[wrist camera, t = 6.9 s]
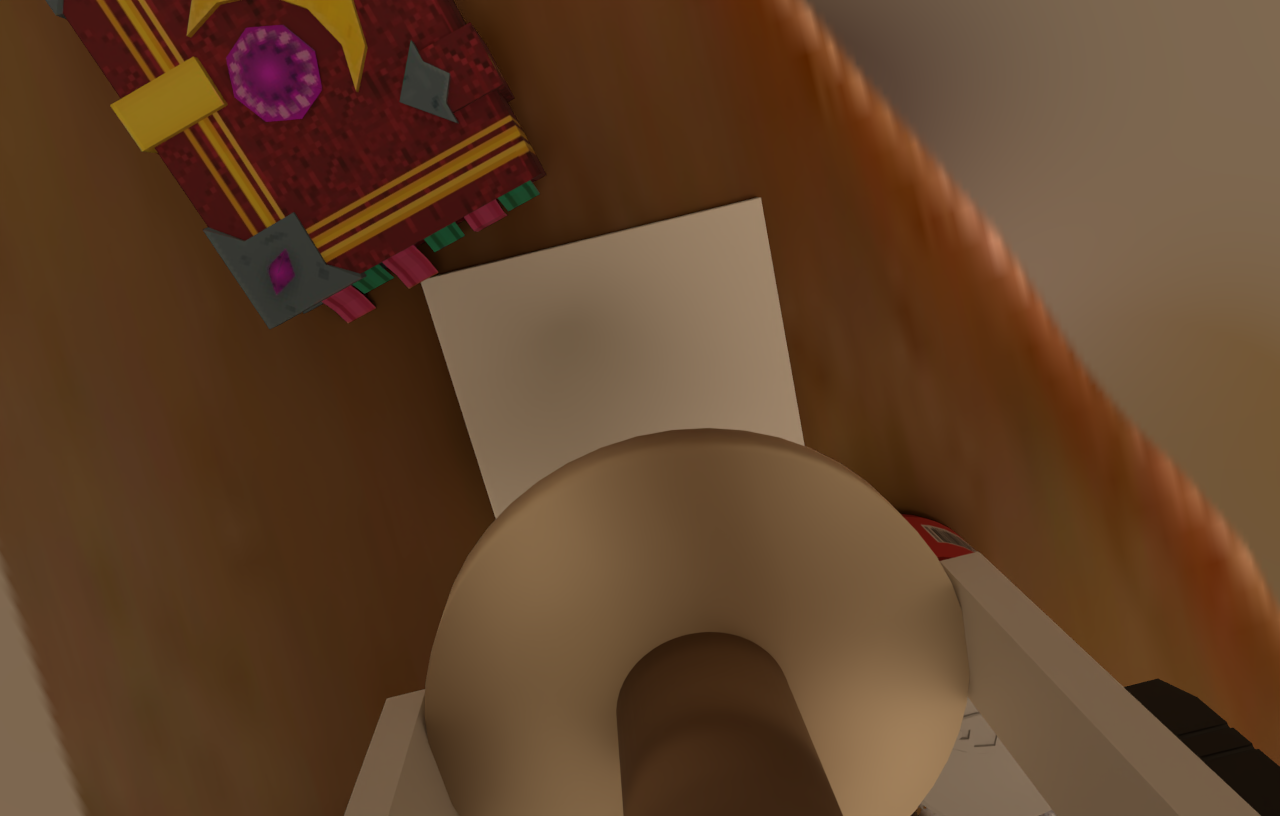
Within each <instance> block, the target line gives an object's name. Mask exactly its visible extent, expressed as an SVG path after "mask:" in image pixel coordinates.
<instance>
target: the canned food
mask: <svg viewBox="0 0 1280 816" xmlns="http://www.w3.org/2000/svg"><path fill="white" fill-rule="evenodd" d="M901 515H902V516H903V517H904V518H905V519H906V520H907V521H908V522H909V523H910V525H911V526H912V527H913V528H914V529H915V530H916V531H917V532H918V533H919V535H920V536H921V537H922V538H923V540H924V541H925V542H926V543H927V545H928V546H929V547H930V549H931V550H932V551H933V552H934V554H935V555H936V556H937V558H938V560H939V561H942V560H946V559H950V558H954V557H958V556H963V555H967V554H971V553H975V552H976V551H975V550H974V549H973V548H972V547H971V546H970V545H969V544H968V543H967V542H966V541H965V540H964V539H962V538H961V537H960V536H959V535H958V534H956V533H955V532H954V531H953V530H951V529H950V528H948V527H946V526H944V525H942V524H940V523H938V522H936V521H933V520H929V519H926V518H922V517H919V516H915V515H906V514H901ZM921 803H922V805H924V806H925V807H927V808H928V809H930V810H931V811H933V812H934V813H936V814H937V815H940V816H1039V815H1041V814H1044V813H1046V812H1048V811H1050V810H1052V809H1051V807H1050V806H1049V805H1048V803H1047V802H1046V801H1045V799H1044V798H1043V797H1042V795H1041V794H1040V793H1039V791H1038V790H1037V789H1036V787H1035V786H1034V785H1033V783H1032V782H1031V781H1030V779H1029V778H1028V777H1027V775H1026V774H1025V773H1024V771H1023V770H1022V769H1021V767H1020V766H1019V765H1018V763H1017V762H1016V761H1015V759H1014V758H1013V757H1012V755H1011V754H1010V753H1009V751H1008V750H1007V749H1006V747H1005V746H1004V745H1003V743H1002V742H1001V741H1000V739H999V738H998V737H997V735H996V734H995V733H994V731H993V730H992V729H991V727H990V726H989V725H988V723H987V722H986V721H985V719H984V718H983V717H982V715H981V714H980V713H979V711H978V710H977V709H976V707H975V706H974V705H973V703H972V702H971V701H970V699H969V698H968V697H967V704H966V708H965V712H964V716H963V720H962V724H961V728H960V731H959V734H958V736H957V739H956V741H955V744H954V746H953V749H952V751H951V754H950V756H949V759H948V761H947V763H946V764H945V766H944V768H943V770H942V771H941V773H940V775H939V777H938V779H937V780H936V782H935V784H934V786H933V787H932V789H931V790H930V791H929V793H928V794H927V795H926V797H925V798H924V799H923V801H922V802H921Z"/></svg>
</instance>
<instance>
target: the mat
mask: <svg viewBox="0 0 1280 816" xmlns="http://www.w3.org/2000/svg"><path fill="white" fill-rule="evenodd" d="M421 285H422V288H423V291H424V294H425V297H426V300H427V303H428V307H429V310H430V313H431V316H432V319H433V322H434V326H435V329H436V332H437V335H438V338H439V341H440V345H441V348H442V351H443V354H444V357H445V360H446V363H447V367H448V370H449V373H450V376H451V379H452V382H453V386H454V389H455V392H456V395H457V398H458V401H459V405H460V408H461V411H462V414H463V417H464V420H465V423H466V427H467V430H468V433H469V436H470V439H471V442H472V446H473V449H474V452H475V455H476V458H477V461H478V465H479V468H480V471H481V474H482V477H483V480H484V483H485V487H486V490H487V493H488V496H489V499H490V502H491V506H492V509H493V512H494V515H495V518H496V519H497V518H498V517H499V515H500V514H501V513H502V512H503V511H504V510H505V509H506V508H507V507H508V506H509V505H510V504H511V503H512V502H513V501H514V500H516V499H517V498H518V497H519V496H521V495H522V494H523V493H524V492H526V491H527V490H528V489H529V488H530V487H532V486H533V485H534V484H535V483H537V482H538V481H539V480H541V479H543V478H544V477H546V476H548V475H549V474H551V473H552V472H554V471H556V470H557V469H559V468H560V467H562V466H564V465H565V464H567V463H569V462H571V461H573V460H575V459H577V458H580V457H582V456H584V455H586V454H588V453H590V452H593V451H595V450H597V449H599V448H601V447H605V446H608V445H611V444H614V443H617V442H621V441H624V440H627V439H630V438H633V437H636V436H642V435H647V434H653V433H658V432H664V431H669V430H680V429H698V428H717V429H731V430H745V431H750V432H755V433H760V434H765V435H770V436H775V437H779V438H782V439H785V440H788V441H791V442H794V443H797V444H800V445H803V446H805V445H804V440H803V434H802V428H801V423H800V417H799V411H798V406H797V400H796V394H795V389H794V383H793V377H792V372H791V366H790V360H789V355H788V349H787V343H786V338H785V332H784V326H783V321H782V315H781V309H780V304H779V298H778V292H777V287H776V281H775V275H774V270H773V264H772V258H771V253H770V247H769V241H768V236H767V230H766V224H765V219H764V213H763V207H762V202H761V198H759V197H757V198H753V199H749V200H745V201H740V202H736V203H732V204H728V205H724V206H720V207H716V208H712V209H708V210H703V211H699V212H695V213H691V214H687V215H683V216H679V217H675V218H670V219H666V220H662V221H658V222H654V223H650V224H646V225H642V226H637V227H633V228H629V229H625V230H621V231H617V232H613V233H609V234H604V235H600V236H596V237H592V238H588V239H584V240H580V241H576V242H571V243H567V244H563V245H559V246H555V247H551V248H547V249H543V250H539V251H534V252H530V253H526V254H522V255H518V256H514V257H510V258H506V259H501V260H497V261H493V262H489V263H485V264H481V265H477V266H473V267H468V268H464V269H460V270H456V271H452V272H448V273H444V274H440V275H435V276H431V277H430V278H428V279H426V280H424V281H422V282H421Z"/></svg>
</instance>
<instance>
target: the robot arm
mask: <svg viewBox="0 0 1280 816" xmlns="http://www.w3.org/2000/svg"><path fill="white" fill-rule="evenodd" d="M940 563H941V565H942V567H943V569H944V570H945V572H946V574H947V576H948V578H949V579H950V581H951V583H952V585H953V588H954V590H955V593H956V596H957V599H958V601H959V604H960V607H961V609H962V613H963V621H964V630H965V638H966V646H967V654H968V663H969V671H970V677H969V687H968V696H967V697H968V698H969V699H970V701H971V702H972V703H973V705H974V706H975V707H976V709H977V710H978V711H979V713H980V714H981V715H982V717H983V718H984V719H985V721H986V722H987V723H988V725H989V726H990V727H991V729H992V730H993V731H994V733H995V734H996V735H997V737H998V738H999V739H1000V741H1001V742H1002V743H1003V745H1004V746H1005V747H1006V749H1007V750H1008V751H1009V753H1010V754H1011V755H1012V757H1013V758H1014V759H1015V761H1016V762H1017V763H1018V765H1019V766H1020V767H1021V769H1022V770H1023V771H1024V773H1025V774H1026V775H1027V777H1028V778H1029V779H1030V781H1031V782H1032V783H1033V785H1034V786H1035V787H1036V789H1037V790H1038V791H1039V793H1040V794H1041V795H1042V797H1043V798H1044V799H1045V801H1046V802H1047V803H1048V805H1049V806H1050V807H1051V809H1052V810H1053V811H1054V813H1055V814H1056V815H1057V816H1280V767H1279V766H1278V765H1277V764H1276V763H1275V762H1273V761H1272V760H1271V759H1270V758H1269V757H1267V756H1266V755H1265V754H1264V753H1263V752H1262V751H1260V750H1259V749H1254V747H1253V745H1252V743H1251V742H1250V741H1248V740H1247V739H1246V738H1245V737H1244V736H1243V735H1241V734H1240V733H1239V732H1238V731H1237V730H1235V729H1234V728H1230V727H1229V726H1228V724H1227V722H1226V721H1225V720H1223V719H1222V718H1221V717H1220V716H1219V715H1218V714H1216V713H1215V712H1214V711H1213V710H1212V709H1210V708H1209V707H1208V706H1207V705H1206V704H1204V703H1203V702H1202V701H1201V700H1200V699H1198V698H1197V697H1196V696H1193V695H1191V694H1189V693H1187V692H1185V691H1183V690H1181V689H1179V688H1177V687H1174V686H1172V685H1170V684H1168V683H1166V682H1164V681H1162V680H1160V679H1155V680H1151V681H1147V682H1143V683H1139V684H1135V685H1131V686H1127V687H1123V686H1122V685H1121V684H1120V683H1118V682H1117V681H1116V680H1115V679H1114V678H1113V677H1112V676H1111V675H1110V674H1109V673H1108V672H1107V671H1106V670H1105V669H1104V668H1102V667H1101V666H1100V665H1099V664H1098V663H1097V662H1096V661H1095V660H1094V659H1093V658H1092V657H1091V656H1090V655H1089V654H1087V653H1086V652H1085V651H1084V650H1083V649H1082V648H1081V647H1080V646H1079V645H1078V644H1077V643H1076V642H1075V641H1074V640H1073V639H1071V638H1070V637H1069V636H1068V635H1067V634H1066V633H1065V632H1064V631H1063V630H1062V629H1061V628H1060V627H1059V626H1058V625H1057V624H1055V623H1054V622H1053V621H1052V620H1051V619H1050V618H1049V617H1048V616H1047V615H1046V614H1045V613H1044V612H1043V611H1042V610H1040V609H1039V608H1038V607H1037V606H1036V605H1035V604H1034V603H1033V602H1032V601H1031V600H1030V599H1029V598H1028V597H1027V596H1026V595H1024V594H1023V593H1022V592H1021V591H1020V590H1019V589H1018V588H1017V587H1016V586H1015V585H1014V584H1013V583H1012V582H1011V581H1009V580H1008V579H1007V578H1006V577H1005V576H1004V575H1003V574H1002V573H1001V572H1000V571H999V570H998V569H997V568H996V567H995V566H993V565H992V564H991V563H990V562H989V561H988V560H987V559H986V558H985V557H984V556H983V555H982V554H981V553H980V552H975V553H971V554H967V555H963V556H958V557H954V558H950V559H946V560H942V561H940ZM344 816H459V814H458V813H457V811H456V810H455V808H454V807H453V805H452V803H451V801H450V798H449V795H448V793H447V790H446V788H445V785H444V782H443V780H442V777H441V775H440V772H439V769H438V767H437V764H436V762H435V759H434V756H433V754H432V751H431V749H430V746H429V743H428V737H427V729H426V722H425V689H423V690H419V691H415V692H411V693H407V694H403V695H399V696H395V697H391V698H387V699H386V702H385V705H384V707H383V710H382V713H381V715H380V718H379V721H378V724H377V726H376V729H375V732H374V735H373V737H372V740H371V743H370V746H369V748H368V751H367V754H366V756H365V759H364V762H363V765H362V767H361V770H360V773H359V776H358V778H357V781H356V784H355V786H354V789H353V792H352V795H351V797H350V800H349V803H348V806H347V808H346V811H345V814H344Z"/></svg>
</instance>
